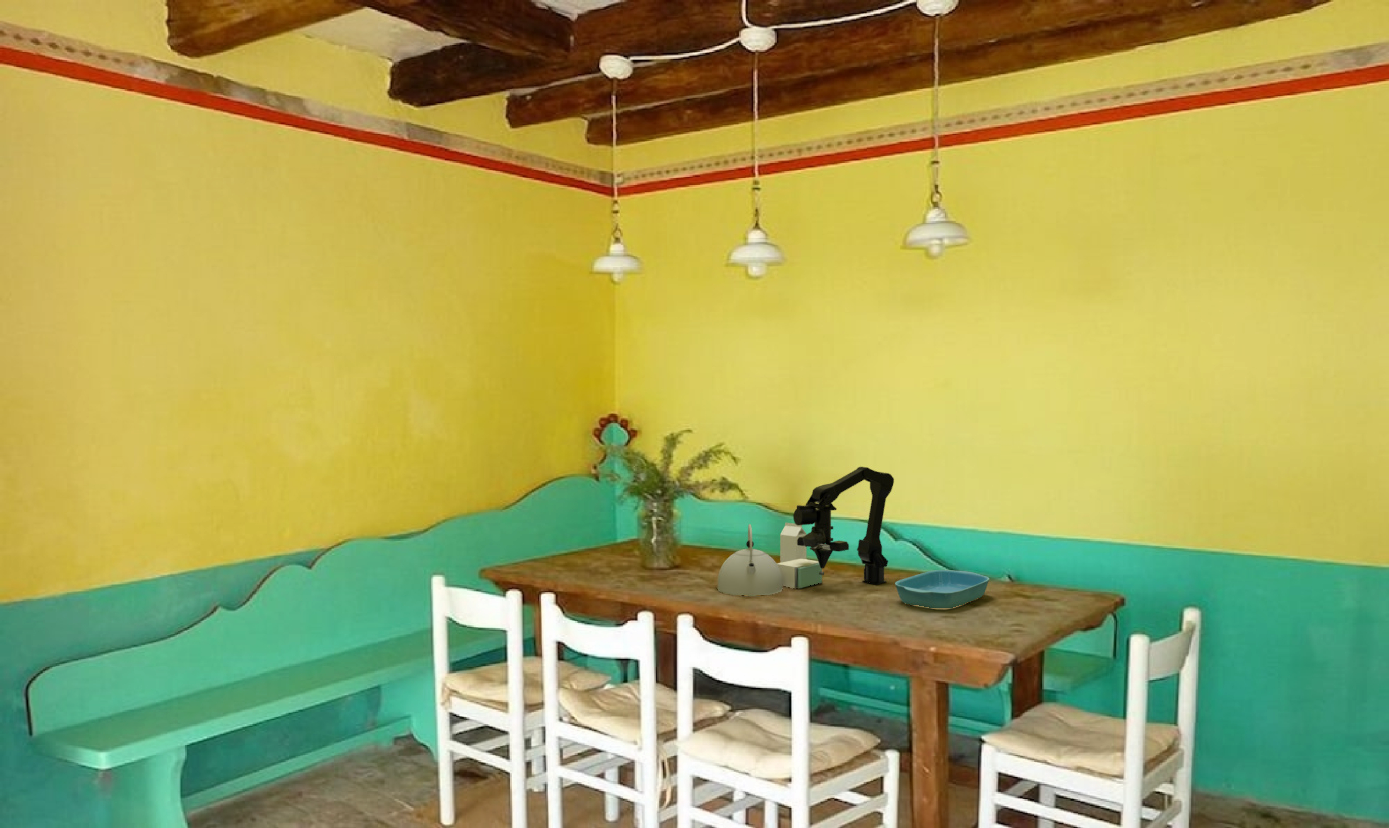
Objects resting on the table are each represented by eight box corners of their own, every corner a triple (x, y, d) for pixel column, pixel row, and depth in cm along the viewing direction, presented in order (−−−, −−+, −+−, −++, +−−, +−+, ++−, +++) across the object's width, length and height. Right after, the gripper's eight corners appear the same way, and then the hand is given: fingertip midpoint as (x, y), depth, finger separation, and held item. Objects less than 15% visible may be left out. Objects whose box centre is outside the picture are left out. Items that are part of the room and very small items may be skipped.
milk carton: (796, 577, 366) (796, 525, 365) (780, 574, 370) (780, 523, 369) (806, 573, 371) (806, 523, 370) (790, 571, 375) (790, 521, 375)
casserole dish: (946, 616, 306) (946, 593, 306) (883, 605, 321) (883, 583, 321) (999, 596, 334) (999, 575, 333) (939, 587, 349) (939, 566, 348)
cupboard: (821, 583, 355) (821, 561, 354) (795, 589, 345) (795, 567, 344) (801, 579, 361) (801, 558, 361) (775, 585, 351) (775, 563, 351)
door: (803, 588, 344) (803, 569, 343) (797, 587, 345) (797, 568, 345) (824, 582, 352) (824, 564, 352) (819, 582, 354) (819, 563, 354)
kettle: (785, 598, 332) (785, 531, 331) (717, 598, 332) (717, 531, 331) (780, 582, 357) (780, 520, 356) (717, 582, 357) (717, 519, 356)
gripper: (786, 523, 346) (786, 567, 347) (829, 529, 333) (829, 575, 333) (807, 519, 354) (807, 563, 354) (849, 525, 341) (849, 570, 341)
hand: (822, 568), depth 346 cm, fingers closed
